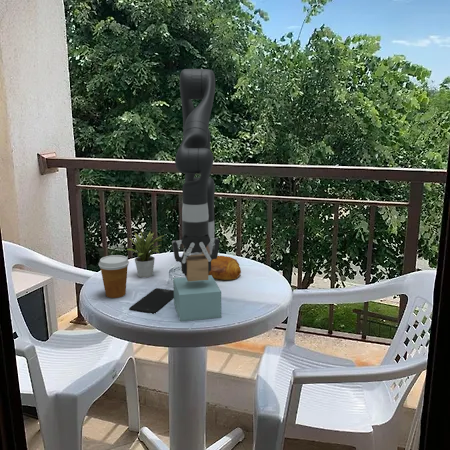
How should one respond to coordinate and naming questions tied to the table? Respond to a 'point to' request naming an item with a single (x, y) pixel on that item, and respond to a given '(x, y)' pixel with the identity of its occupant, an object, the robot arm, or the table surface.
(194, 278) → the walnut cube
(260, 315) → the table surface
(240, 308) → the table surface
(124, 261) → the disposable coffee cup
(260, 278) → the table surface
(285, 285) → the table surface
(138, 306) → the cell phone
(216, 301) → the stand
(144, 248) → the house plant
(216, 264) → the croissant
